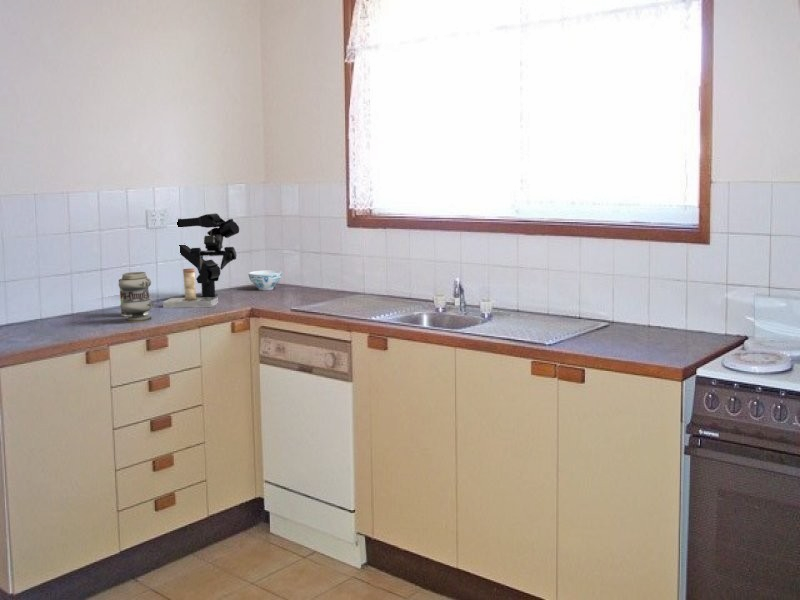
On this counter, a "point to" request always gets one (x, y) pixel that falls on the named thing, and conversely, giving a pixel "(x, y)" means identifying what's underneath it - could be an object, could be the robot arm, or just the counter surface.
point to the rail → (190, 302)
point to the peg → (189, 284)
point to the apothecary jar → (136, 296)
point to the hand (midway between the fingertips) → (210, 269)
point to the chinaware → (265, 278)
